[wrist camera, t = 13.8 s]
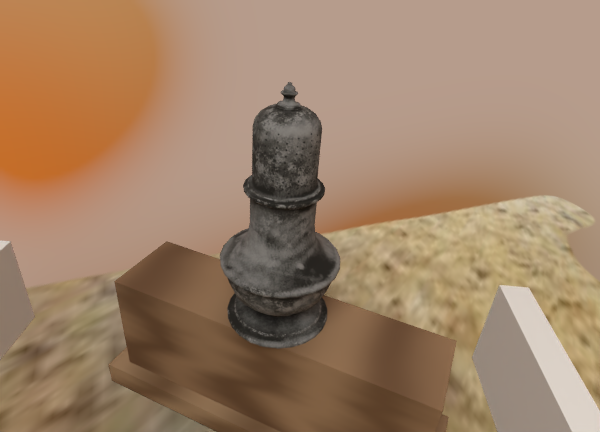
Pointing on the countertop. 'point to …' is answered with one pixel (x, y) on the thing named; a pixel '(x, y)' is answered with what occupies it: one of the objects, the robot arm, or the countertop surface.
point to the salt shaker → (281, 233)
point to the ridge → (272, 359)
